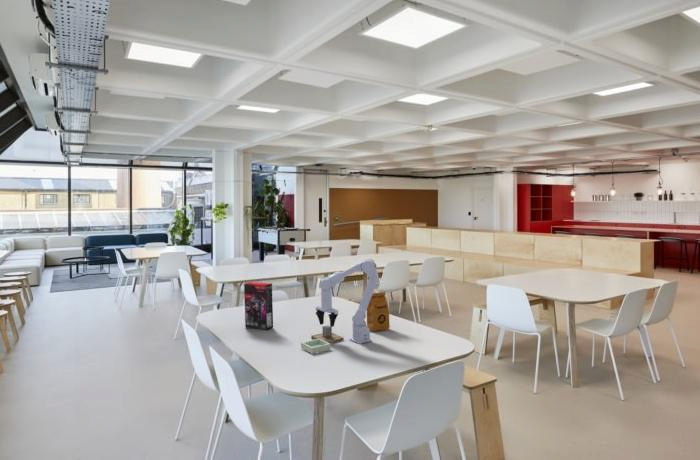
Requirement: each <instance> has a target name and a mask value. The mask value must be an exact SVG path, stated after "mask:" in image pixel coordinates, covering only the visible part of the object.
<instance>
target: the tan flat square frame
mask: <svg viewBox="0 0 700 460" xmlns="http://www.w3.org/2000/svg"><path fill="white" fill-rule="evenodd" d="M310 338H311V340H315V339H322V340H324V341H326V342H328V343H330V344H334V343H338V341H339V342H342V340H343V341H344V336H341V335H338V334H336V333H333V332H332V337H330V338H324V337H323V332H322V333H317V334H311V337H310Z"/></svg>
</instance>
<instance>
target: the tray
mask: <svg viewBox="0 0 700 460" xmlns="http://www.w3.org/2000/svg"><path fill="white" fill-rule="evenodd" d="M331 345H332V343H328V342H326V341H324V340H322V339H315V340H314V339H310V340H306V341H302V342H300V349H301V348H302V349H301V350H303V349H304V351H305V350H306V352H307V351H308V352H307V353H309V352H310V353H311V354H310V353H309V354H310V355H313V353H315V354H318V353H317V352H319V353H323V352H326V350H327V351H330V350H329V349H331V347H332V346H331ZM322 351H323V352H322Z"/></svg>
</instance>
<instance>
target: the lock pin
mask: <svg viewBox="0 0 700 460" xmlns="http://www.w3.org/2000/svg"><path fill="white" fill-rule="evenodd" d="M332 328H333V327H331V326H330V325H324V326H322V333H323V337H324V338H330V337H332V333H333V332H332Z"/></svg>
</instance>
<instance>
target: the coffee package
mask: <svg viewBox="0 0 700 460" xmlns="http://www.w3.org/2000/svg"><path fill="white" fill-rule="evenodd" d="M366 326H367V327H369V329H370V332H381V331H388V330H390V326H391V325H390V308H389V306H388V302H387V298H386V291H380V292H373V294H372V297H371V299H370V302H369V304H368V307H367V310H366Z"/></svg>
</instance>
